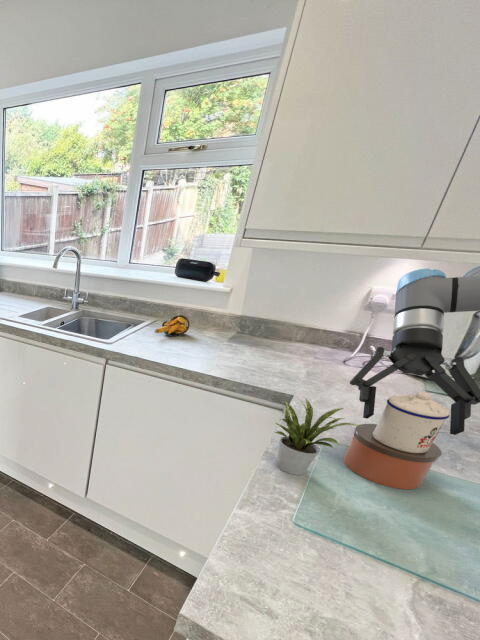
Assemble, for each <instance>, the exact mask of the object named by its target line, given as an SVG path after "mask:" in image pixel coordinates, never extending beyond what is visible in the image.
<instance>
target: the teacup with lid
mask: <svg viewBox="0 0 480 640" xmlns="http://www.w3.org/2000/svg"><path fill="white" fill-rule="evenodd" d="M431 397H432V395H431V394H429V393H428V392H424V391H418V392H417V393H416V394H408V395H404V394H397V395H392V396H390V397H389V398H387V400H386V405H385V407H384V409H383V411H382V413H381V415H380V418H379V419H378V422H377V423H376V424H377V426H376V428H375V430H374V432H373V436H374V438H375V439H376V440H377V441H379V442H380V443H382V444H384V445H386V446H388V447H391V448H394V449H397V450H400V451H404V452H409V453H425V452H427V451H428V450H429V448H430V446H431V445H432V443H434V441H435V440H436V437H437V436H438V434H439V432H440V430H441V429H442V427H443V426H444V423H445V422H446V419H449V418H450V417H451V412H450V410H449V409H448V408H447V407H445V406H444V405H442V404H440V403H437V402H436V401H435V400H434V399H432V398H431Z"/></svg>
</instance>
